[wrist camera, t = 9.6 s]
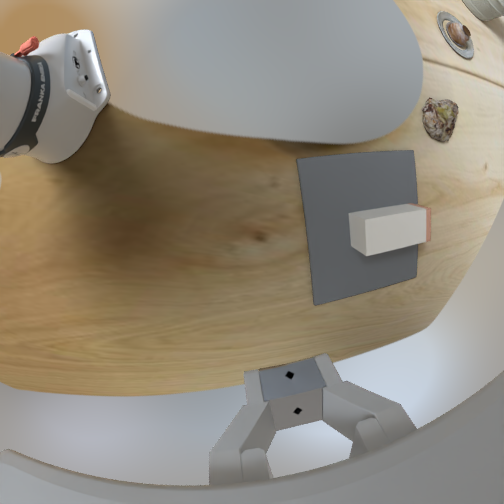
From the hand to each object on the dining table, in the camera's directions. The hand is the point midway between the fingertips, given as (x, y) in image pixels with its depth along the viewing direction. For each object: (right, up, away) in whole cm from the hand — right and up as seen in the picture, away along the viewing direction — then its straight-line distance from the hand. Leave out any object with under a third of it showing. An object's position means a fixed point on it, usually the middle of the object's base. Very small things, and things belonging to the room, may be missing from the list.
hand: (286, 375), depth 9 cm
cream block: (+13, +7, +27) cm, 31 cm away
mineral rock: (+32, +28, +26) cm, 49 cm away
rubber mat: (+16, +9, +30) cm, 35 cm away
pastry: (+42, +51, +20) cm, 68 cm away
